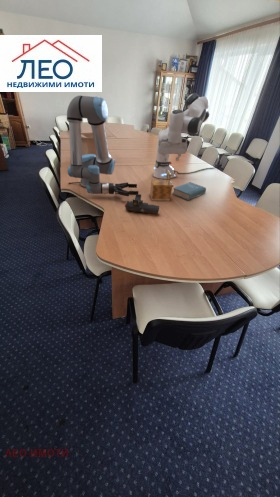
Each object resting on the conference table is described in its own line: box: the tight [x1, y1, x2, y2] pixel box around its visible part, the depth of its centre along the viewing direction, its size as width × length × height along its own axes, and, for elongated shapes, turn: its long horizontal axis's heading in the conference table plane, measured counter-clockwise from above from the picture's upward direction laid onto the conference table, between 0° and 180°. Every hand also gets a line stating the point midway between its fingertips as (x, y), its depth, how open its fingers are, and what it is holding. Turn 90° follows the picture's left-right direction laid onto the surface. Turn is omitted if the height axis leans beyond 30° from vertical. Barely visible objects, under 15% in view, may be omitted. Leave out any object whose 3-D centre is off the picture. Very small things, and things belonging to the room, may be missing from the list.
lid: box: [150, 171, 175, 188], centre depth 161 cm, size 15×10×9 cm
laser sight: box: [124, 193, 160, 215], centre depth 146 cm, size 10×22×10 cm, turn 78°
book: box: [172, 181, 207, 201], centre depth 178 cm, size 23×16×5 cm
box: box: [81, 130, 114, 157], centre depth 229 cm, size 44×36×27 cm
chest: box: [149, 182, 173, 202], centre depth 167 cm, size 14×10×11 cm
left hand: (137, 189), depth 162 cm, fingers open, 13 cm apart
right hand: (170, 160), depth 154 cm, fingers open, 8 cm apart
